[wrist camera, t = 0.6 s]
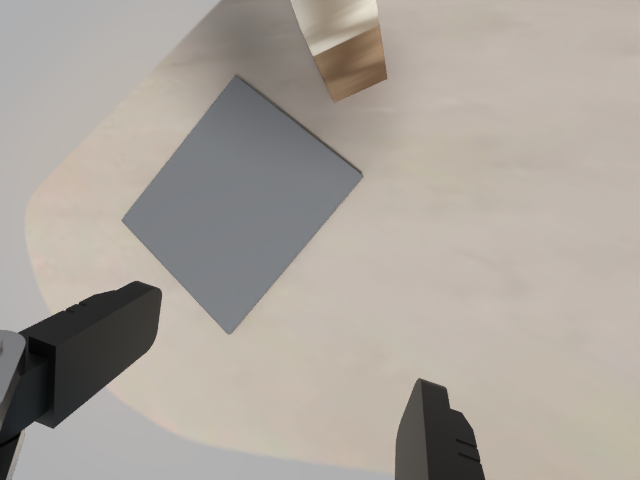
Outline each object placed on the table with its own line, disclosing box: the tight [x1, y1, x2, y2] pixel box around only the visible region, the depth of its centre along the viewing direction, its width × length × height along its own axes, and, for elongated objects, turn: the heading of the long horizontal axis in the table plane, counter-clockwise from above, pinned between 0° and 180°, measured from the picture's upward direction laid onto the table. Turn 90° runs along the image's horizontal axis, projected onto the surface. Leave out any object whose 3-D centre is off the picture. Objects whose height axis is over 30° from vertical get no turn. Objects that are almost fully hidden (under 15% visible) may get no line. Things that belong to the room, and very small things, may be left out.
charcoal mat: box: [121, 76, 363, 334], centre depth 35 cm, size 18×16×1 cm
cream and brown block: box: [290, 0, 387, 102], centre depth 29 cm, size 5×5×10 cm
